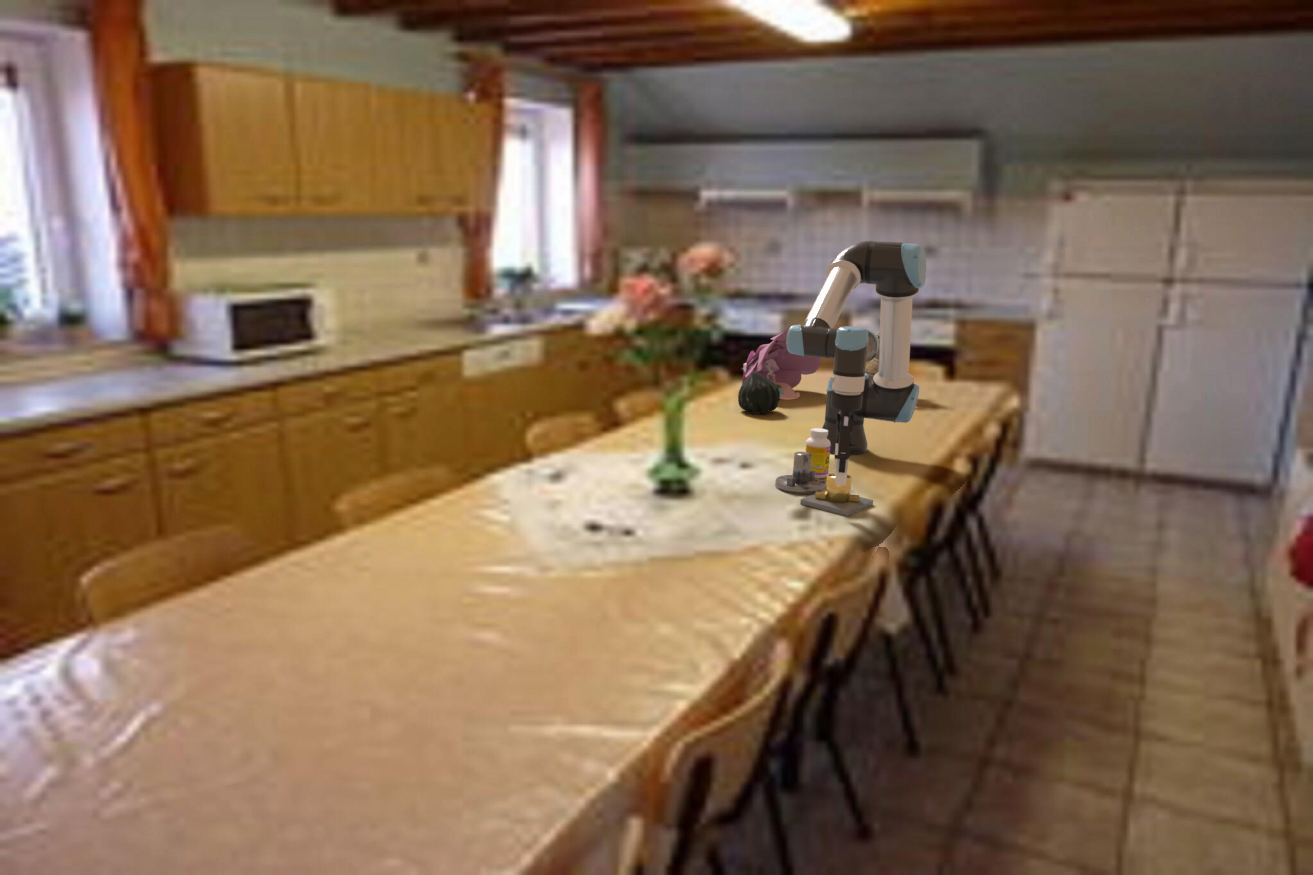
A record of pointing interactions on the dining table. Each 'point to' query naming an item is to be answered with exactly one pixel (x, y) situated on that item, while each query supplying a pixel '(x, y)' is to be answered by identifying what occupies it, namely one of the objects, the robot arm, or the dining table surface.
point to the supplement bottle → (819, 451)
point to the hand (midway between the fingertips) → (839, 476)
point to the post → (801, 477)
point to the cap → (837, 491)
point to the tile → (836, 505)
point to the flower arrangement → (780, 365)
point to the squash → (758, 395)
